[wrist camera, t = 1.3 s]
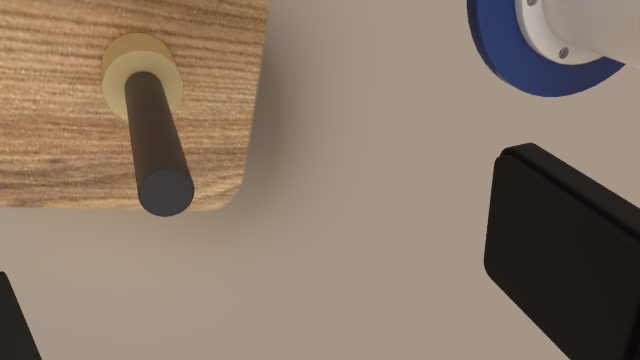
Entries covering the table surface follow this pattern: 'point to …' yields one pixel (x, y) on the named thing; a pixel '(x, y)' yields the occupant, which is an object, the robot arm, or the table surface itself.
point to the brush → (149, 118)
